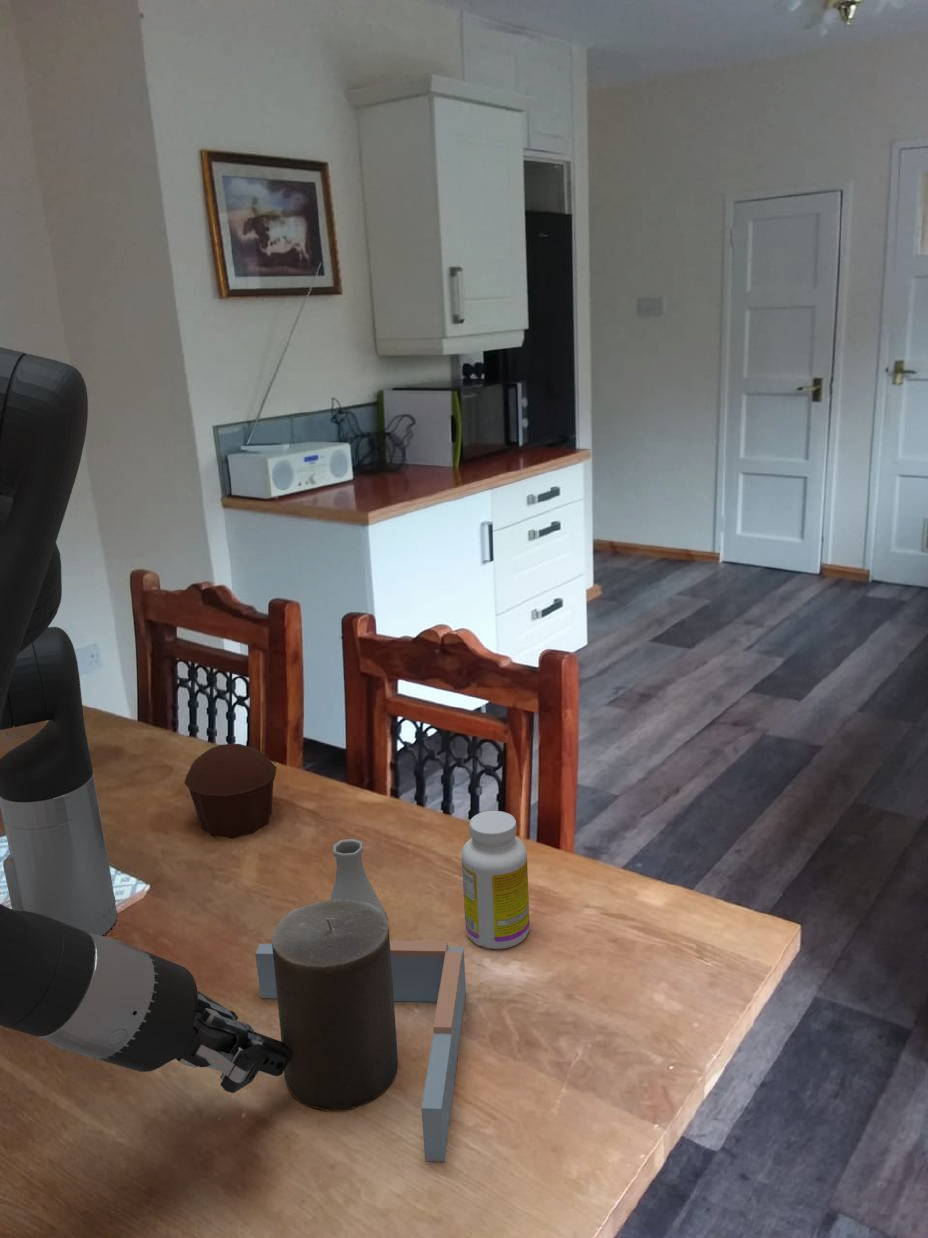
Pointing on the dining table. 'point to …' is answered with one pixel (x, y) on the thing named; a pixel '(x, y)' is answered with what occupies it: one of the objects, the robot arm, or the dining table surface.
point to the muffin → (232, 790)
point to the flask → (352, 875)
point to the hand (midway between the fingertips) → (282, 1060)
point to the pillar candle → (336, 1002)
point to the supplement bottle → (495, 882)
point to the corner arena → (440, 979)
